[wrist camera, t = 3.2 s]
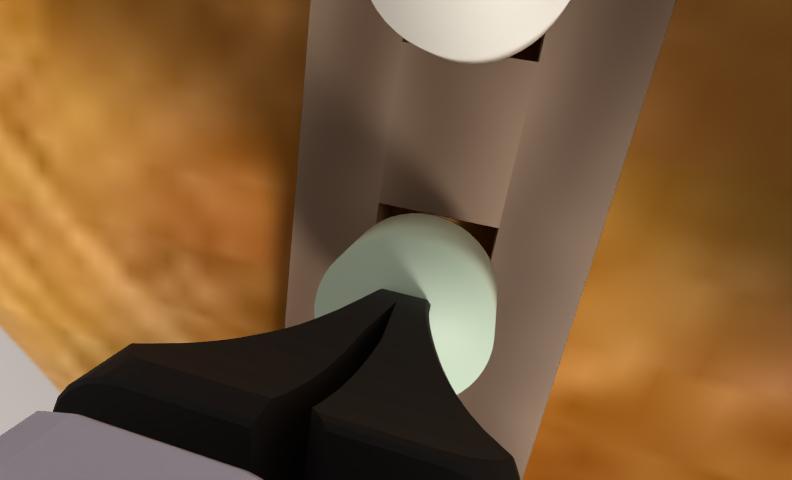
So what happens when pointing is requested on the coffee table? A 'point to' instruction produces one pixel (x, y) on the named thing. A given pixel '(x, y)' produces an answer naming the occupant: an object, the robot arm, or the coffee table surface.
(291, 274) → the console
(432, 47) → the button cream
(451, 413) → the robot arm
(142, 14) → the coffee table surface
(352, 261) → the button sage
